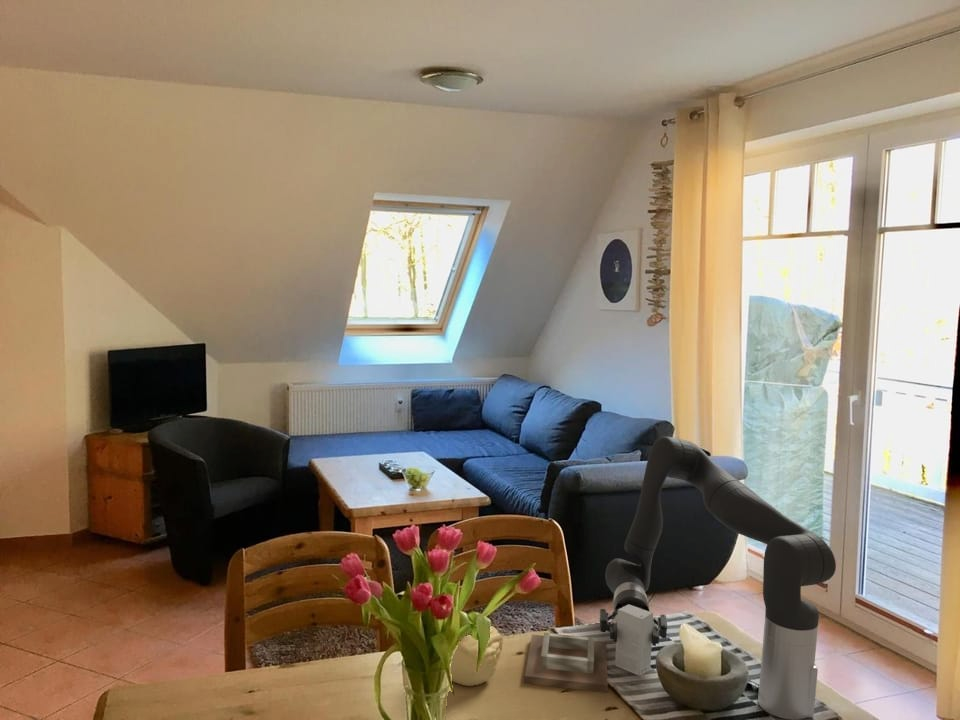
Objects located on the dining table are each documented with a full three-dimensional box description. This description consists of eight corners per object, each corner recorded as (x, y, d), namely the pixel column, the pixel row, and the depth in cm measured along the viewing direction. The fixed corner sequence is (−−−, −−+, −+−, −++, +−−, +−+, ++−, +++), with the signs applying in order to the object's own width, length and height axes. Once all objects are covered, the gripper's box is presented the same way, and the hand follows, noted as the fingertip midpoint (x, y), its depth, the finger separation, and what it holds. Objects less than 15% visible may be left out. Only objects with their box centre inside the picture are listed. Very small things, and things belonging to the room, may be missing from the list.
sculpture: (479, 699, 146) (481, 644, 145) (427, 680, 152) (429, 627, 151) (509, 674, 155) (512, 622, 154) (459, 657, 162) (461, 607, 160)
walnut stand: (605, 648, 168) (606, 631, 167) (607, 692, 150) (608, 672, 150) (531, 641, 170) (532, 623, 169) (524, 683, 152) (525, 663, 152)
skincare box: (651, 669, 157) (654, 612, 156) (639, 677, 154) (642, 619, 153) (625, 658, 161) (628, 603, 160) (613, 665, 158) (616, 609, 157)
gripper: (598, 585, 172) (599, 618, 155) (665, 591, 170) (673, 624, 154) (597, 618, 173) (597, 653, 156) (663, 624, 171) (670, 661, 154)
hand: (635, 639), depth 155 cm, fingers closed on skincare box, 7 cm apart
